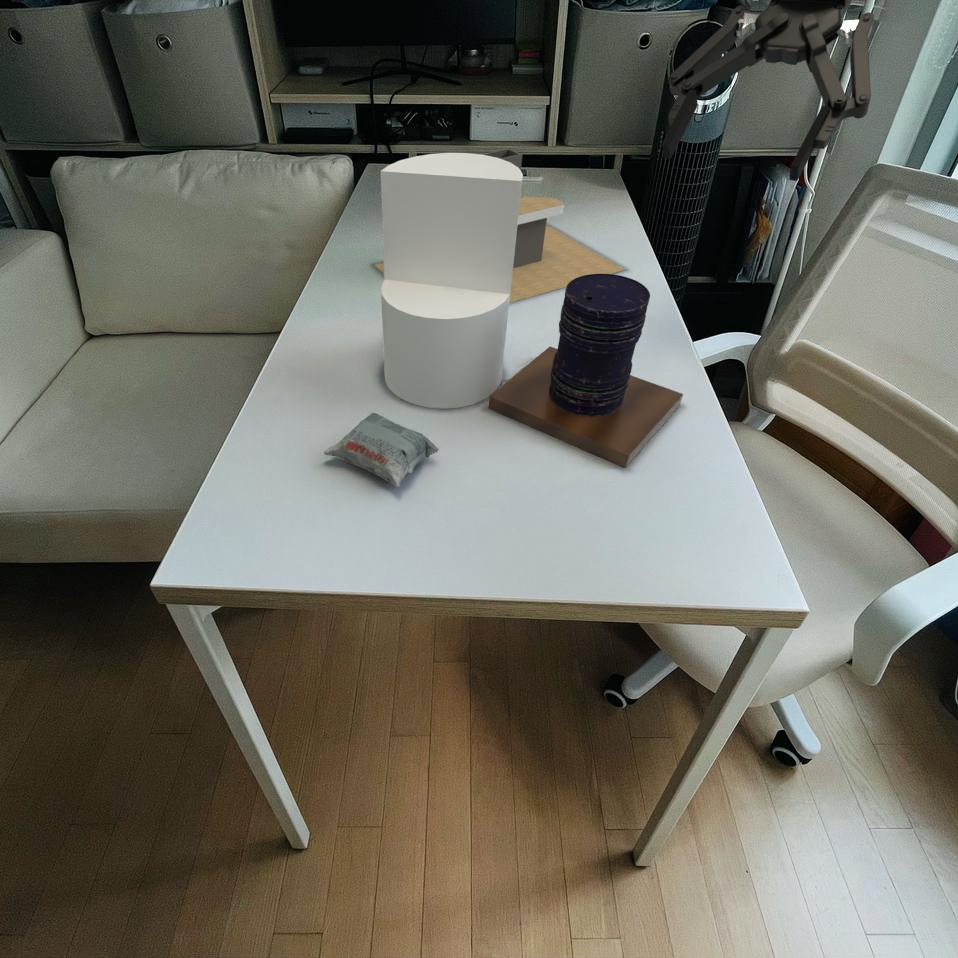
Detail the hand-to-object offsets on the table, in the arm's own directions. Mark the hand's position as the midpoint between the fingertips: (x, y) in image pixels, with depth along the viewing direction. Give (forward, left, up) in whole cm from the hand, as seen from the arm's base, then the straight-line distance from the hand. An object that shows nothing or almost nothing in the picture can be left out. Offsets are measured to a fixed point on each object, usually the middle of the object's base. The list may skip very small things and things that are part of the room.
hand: (726, 162), depth 72 cm
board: (+6, +11, -30) cm, 32 cm away
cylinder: (+26, +16, -30) cm, 43 cm away
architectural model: (+39, -18, -30) cm, 53 cm away
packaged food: (+20, +37, -30) cm, 51 cm away
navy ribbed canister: (+6, +11, -28) cm, 30 cm away
